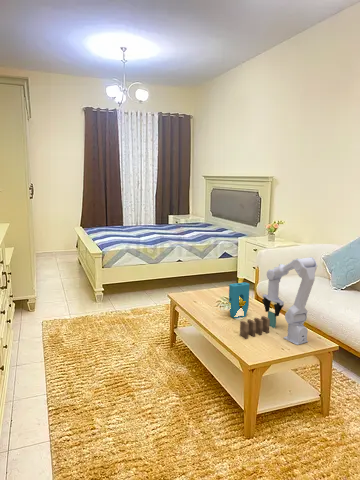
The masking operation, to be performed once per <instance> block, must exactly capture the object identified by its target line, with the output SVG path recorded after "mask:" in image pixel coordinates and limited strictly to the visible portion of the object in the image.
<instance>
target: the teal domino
mask: <svg viewBox="0 0 360 480" xmlns="http://www.w3.org/2000/svg"><path fill="white" fill-rule="evenodd" d="M267 318H269V319H270V326H269V328H270V327H271V328H273V329H276V327H277V316H275V312H273V311H271V310H269V311H268V312H267Z"/></svg>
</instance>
